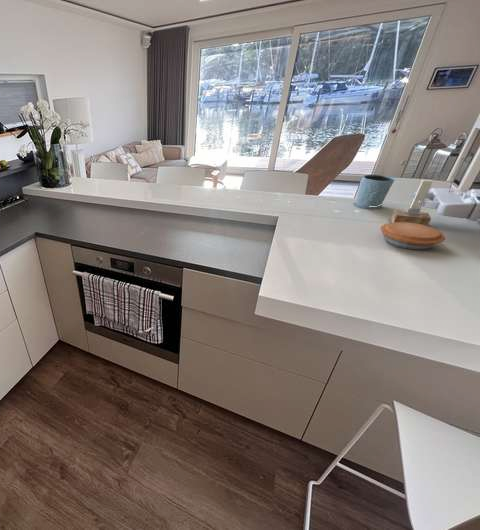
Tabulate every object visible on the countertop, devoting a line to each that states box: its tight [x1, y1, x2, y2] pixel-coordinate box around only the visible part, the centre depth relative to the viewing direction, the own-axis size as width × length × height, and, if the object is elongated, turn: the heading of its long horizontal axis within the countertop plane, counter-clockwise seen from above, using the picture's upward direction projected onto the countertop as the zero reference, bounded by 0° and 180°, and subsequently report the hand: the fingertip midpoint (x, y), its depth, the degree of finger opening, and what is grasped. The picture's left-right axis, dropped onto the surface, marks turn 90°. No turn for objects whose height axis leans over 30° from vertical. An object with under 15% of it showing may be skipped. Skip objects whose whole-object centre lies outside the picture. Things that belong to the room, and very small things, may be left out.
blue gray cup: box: [355, 174, 396, 210], centre depth 120 cm, size 10×10×12 cm
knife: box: [406, 179, 434, 215], centre depth 101 cm, size 3×2×16 cm, turn 55°
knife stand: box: [390, 209, 432, 226], centre depth 104 cm, size 9×6×4 cm, turn 56°
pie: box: [379, 222, 447, 250], centre depth 93 cm, size 15×16×5 cm
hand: (415, 198), depth 101 cm, fingers open, 8 cm apart
